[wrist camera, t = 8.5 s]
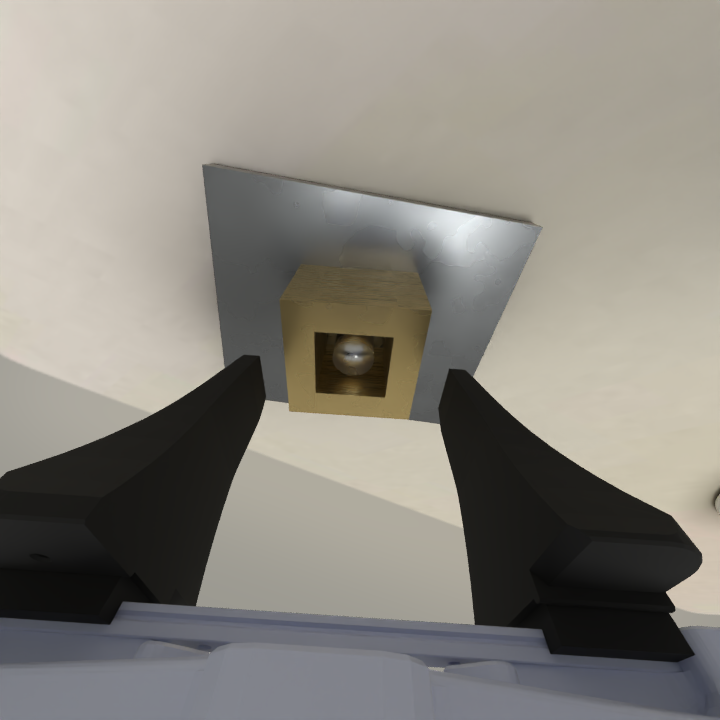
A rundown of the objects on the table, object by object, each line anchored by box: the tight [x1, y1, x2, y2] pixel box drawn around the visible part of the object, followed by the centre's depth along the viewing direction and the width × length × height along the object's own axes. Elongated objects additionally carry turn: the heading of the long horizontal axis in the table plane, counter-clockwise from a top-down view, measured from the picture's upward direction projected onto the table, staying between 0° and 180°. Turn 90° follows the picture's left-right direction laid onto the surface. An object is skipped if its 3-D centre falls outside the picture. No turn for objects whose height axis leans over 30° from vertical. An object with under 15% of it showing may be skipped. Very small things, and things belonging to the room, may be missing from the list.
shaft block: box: [202, 164, 542, 424], centre depth 15 cm, size 14×12×4 cm
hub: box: [279, 264, 432, 419], centre depth 14 cm, size 5×5×4 cm
